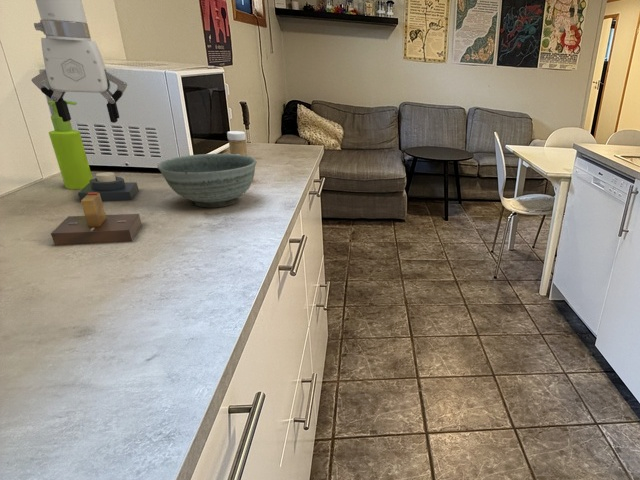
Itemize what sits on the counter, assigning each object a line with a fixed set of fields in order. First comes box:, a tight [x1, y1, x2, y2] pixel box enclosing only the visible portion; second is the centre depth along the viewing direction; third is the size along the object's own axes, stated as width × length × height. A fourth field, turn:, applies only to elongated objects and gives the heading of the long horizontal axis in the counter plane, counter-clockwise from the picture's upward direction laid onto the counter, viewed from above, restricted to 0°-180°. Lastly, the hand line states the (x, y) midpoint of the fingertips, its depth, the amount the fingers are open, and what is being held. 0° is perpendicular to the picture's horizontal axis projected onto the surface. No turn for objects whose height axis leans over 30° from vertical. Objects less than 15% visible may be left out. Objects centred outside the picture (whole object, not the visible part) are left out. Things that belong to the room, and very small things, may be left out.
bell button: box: [95, 171, 116, 182], centre depth 111 cm, size 4×4×2 cm
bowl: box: [157, 153, 257, 208], centre depth 112 cm, size 21×21×10 cm
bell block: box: [77, 176, 140, 202], centre depth 112 cm, size 10×9×4 cm
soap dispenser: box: [47, 99, 94, 190], centre depth 113 cm, size 6×7×20 cm
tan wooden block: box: [80, 192, 107, 227], centre depth 89 cm, size 5×2×5 cm, turn 20°
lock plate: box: [50, 213, 143, 247], centre depth 91 cm, size 12×10×3 cm
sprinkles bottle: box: [226, 130, 248, 156], centre depth 129 cm, size 5×5×14 cm
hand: (91, 121), depth 105 cm, fingers open, 8 cm apart
